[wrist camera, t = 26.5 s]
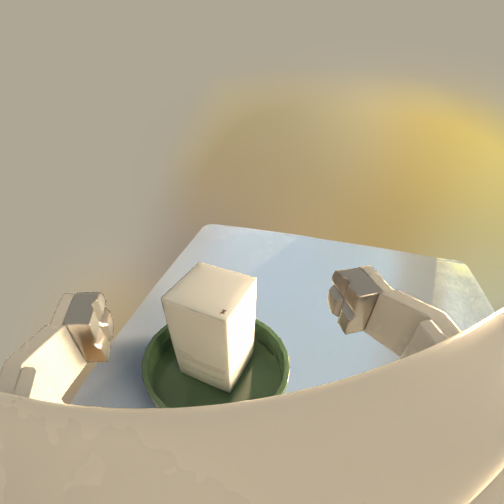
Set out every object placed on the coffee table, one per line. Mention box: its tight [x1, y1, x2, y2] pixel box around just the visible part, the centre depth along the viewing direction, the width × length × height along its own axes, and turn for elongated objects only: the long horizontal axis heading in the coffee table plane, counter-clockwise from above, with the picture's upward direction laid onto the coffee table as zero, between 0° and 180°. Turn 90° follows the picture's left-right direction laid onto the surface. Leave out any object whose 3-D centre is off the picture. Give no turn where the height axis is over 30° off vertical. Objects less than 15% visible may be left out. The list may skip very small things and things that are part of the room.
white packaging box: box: [161, 262, 257, 393], centre depth 30 cm, size 7×7×13 cm
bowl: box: [142, 319, 290, 408], centre depth 31 cm, size 17×17×4 cm
